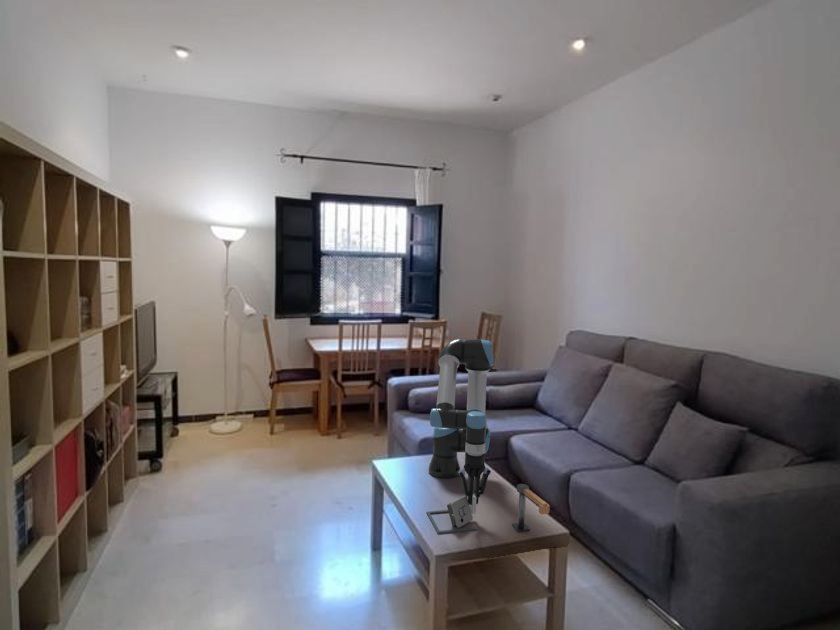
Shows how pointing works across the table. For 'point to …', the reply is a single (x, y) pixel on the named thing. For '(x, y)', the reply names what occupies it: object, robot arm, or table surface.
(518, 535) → the table surface
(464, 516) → the electrical switch
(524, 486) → the lever
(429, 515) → the bay
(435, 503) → the table surface
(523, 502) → the mast
